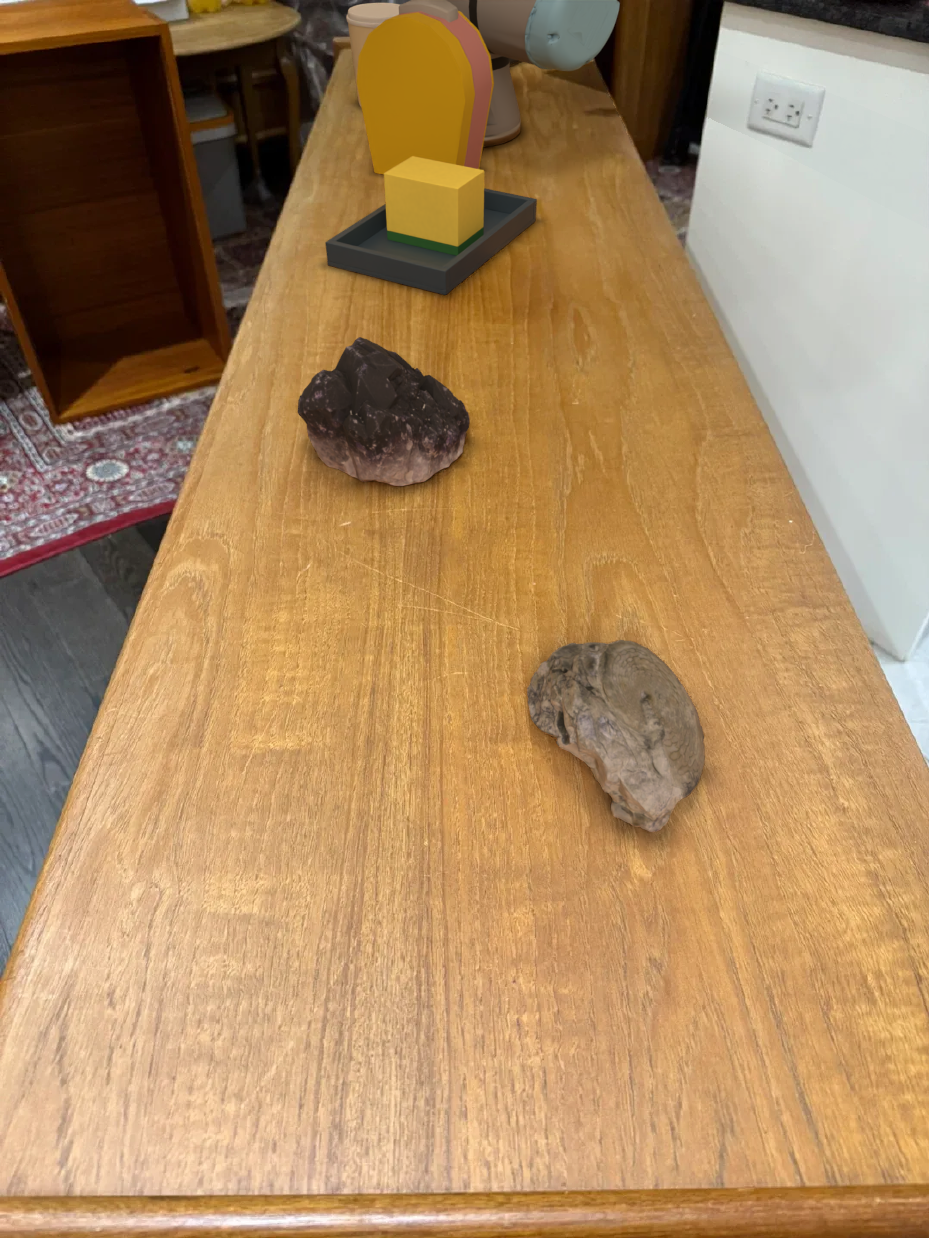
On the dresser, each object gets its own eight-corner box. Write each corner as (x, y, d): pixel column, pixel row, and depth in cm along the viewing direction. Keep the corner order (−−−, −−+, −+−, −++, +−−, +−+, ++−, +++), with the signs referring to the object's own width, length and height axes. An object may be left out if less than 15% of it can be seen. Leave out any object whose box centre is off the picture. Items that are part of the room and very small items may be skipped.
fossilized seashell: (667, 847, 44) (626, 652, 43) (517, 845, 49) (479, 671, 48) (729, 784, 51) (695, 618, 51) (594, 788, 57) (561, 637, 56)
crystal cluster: (450, 397, 77) (437, 286, 71) (493, 475, 68) (483, 354, 61) (301, 430, 76) (273, 318, 69) (323, 515, 66) (293, 394, 59)
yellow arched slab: (493, 169, 114) (498, 0, 101) (464, 190, 109) (465, 15, 96) (395, 151, 119) (387, -13, 106) (363, 170, 114) (350, 1, 101)
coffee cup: (406, 115, 130) (402, 19, 121) (345, 111, 131) (337, 15, 123) (421, 96, 136) (418, 4, 128) (363, 93, 138) (356, 1, 129)
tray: (428, 198, 108) (427, 176, 106) (535, 221, 103) (537, 199, 101) (327, 265, 94) (324, 242, 93) (445, 295, 90) (445, 271, 88)
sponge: (414, 220, 102) (412, 156, 97) (483, 236, 99) (484, 170, 94) (387, 239, 98) (383, 173, 93) (458, 256, 95) (457, 188, 90)
